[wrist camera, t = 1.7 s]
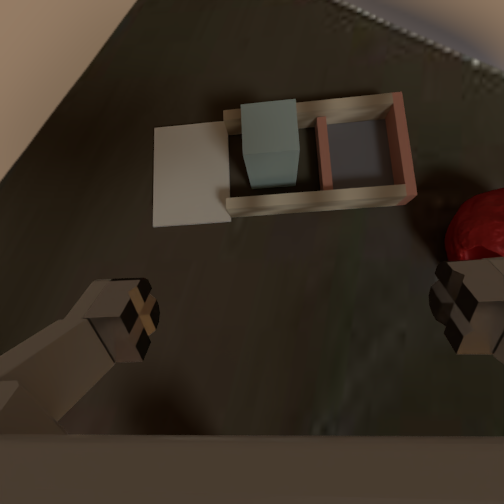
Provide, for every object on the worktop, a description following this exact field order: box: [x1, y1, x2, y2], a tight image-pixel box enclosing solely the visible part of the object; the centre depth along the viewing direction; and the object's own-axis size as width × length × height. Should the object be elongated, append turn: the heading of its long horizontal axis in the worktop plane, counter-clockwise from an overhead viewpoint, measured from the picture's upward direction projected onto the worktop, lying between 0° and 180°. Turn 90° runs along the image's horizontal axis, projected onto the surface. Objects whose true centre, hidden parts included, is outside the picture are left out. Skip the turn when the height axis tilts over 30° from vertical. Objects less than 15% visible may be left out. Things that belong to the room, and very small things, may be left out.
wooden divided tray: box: [223, 93, 407, 217], centre depth 33 cm, size 18×11×3 cm, turn 93°
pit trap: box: [315, 92, 417, 206], centre depth 32 cm, size 9×11×3 cm
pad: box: [153, 121, 231, 227], centre depth 35 cm, size 9×12×1 cm
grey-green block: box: [241, 99, 300, 189], centre depth 31 cm, size 5×5×8 cm
